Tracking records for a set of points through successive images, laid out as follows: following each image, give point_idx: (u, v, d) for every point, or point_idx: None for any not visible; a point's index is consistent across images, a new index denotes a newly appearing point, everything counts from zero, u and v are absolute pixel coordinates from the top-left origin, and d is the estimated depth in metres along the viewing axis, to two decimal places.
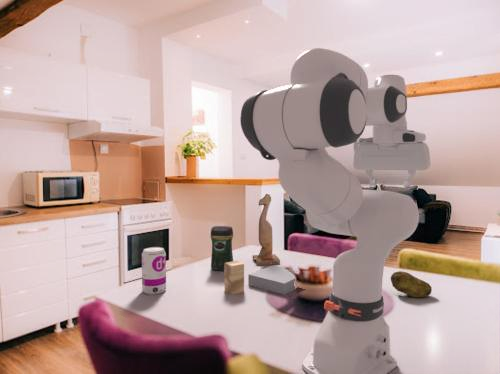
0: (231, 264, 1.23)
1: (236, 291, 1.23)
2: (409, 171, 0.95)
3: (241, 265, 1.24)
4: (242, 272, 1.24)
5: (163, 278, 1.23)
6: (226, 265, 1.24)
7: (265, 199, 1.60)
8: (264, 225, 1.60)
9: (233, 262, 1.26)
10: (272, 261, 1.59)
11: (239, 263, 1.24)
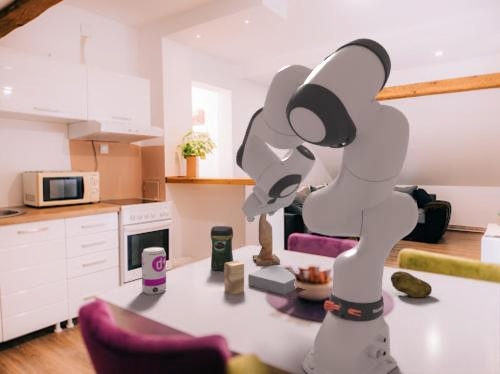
0: (231, 264, 1.23)
1: (236, 291, 1.23)
2: None
3: (241, 265, 1.24)
4: (242, 272, 1.24)
5: (163, 278, 1.23)
6: (226, 265, 1.24)
7: None
8: (264, 225, 1.60)
9: (233, 262, 1.26)
10: (272, 261, 1.59)
11: (239, 263, 1.25)
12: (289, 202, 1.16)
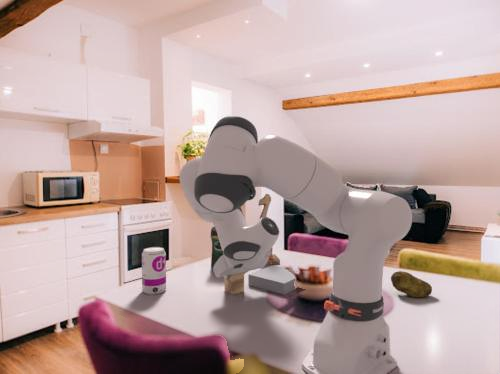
0: None
1: (236, 291, 1.23)
2: None
3: None
4: (242, 272, 1.24)
5: (163, 278, 1.23)
6: None
7: (264, 199, 1.60)
8: None
9: None
10: (272, 261, 1.59)
11: None
12: (261, 265, 1.25)
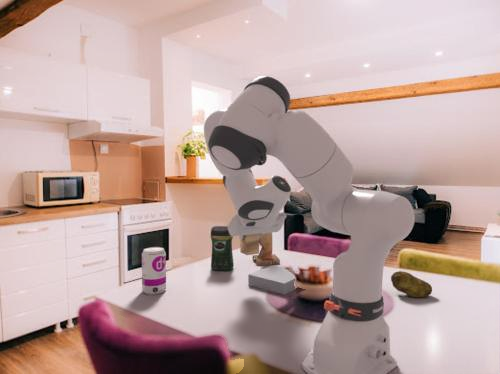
0: None
1: (251, 252, 1.25)
2: None
3: None
4: (257, 234, 1.26)
5: (163, 278, 1.23)
6: None
7: None
8: None
9: None
10: (272, 261, 1.59)
11: None
12: (277, 228, 1.26)
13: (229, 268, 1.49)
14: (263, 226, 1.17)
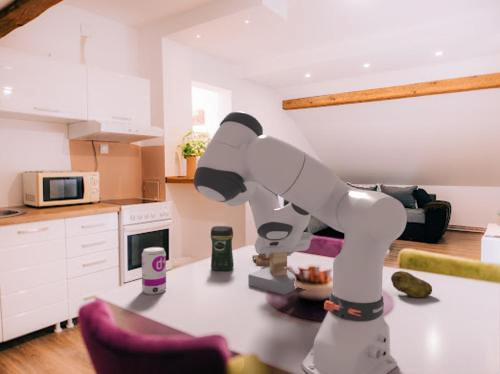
0: None
1: (278, 273, 1.30)
2: None
3: None
4: (285, 256, 1.30)
5: (163, 278, 1.23)
6: None
7: None
8: None
9: None
10: None
11: None
12: (304, 247, 1.28)
13: (229, 268, 1.49)
14: (287, 246, 1.20)
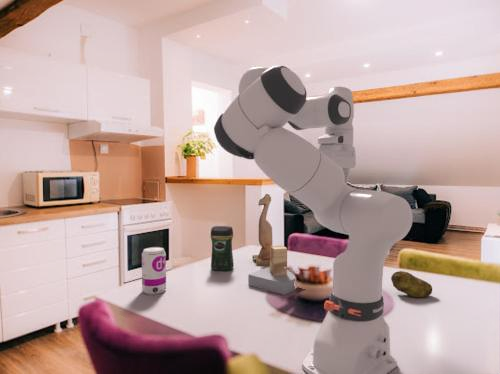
0: (275, 247, 1.31)
1: (278, 273, 1.30)
2: None
3: (284, 249, 1.30)
4: (285, 256, 1.30)
5: (163, 278, 1.23)
6: (271, 248, 1.32)
7: (264, 199, 1.60)
8: (264, 225, 1.60)
9: (278, 246, 1.33)
10: None
11: (283, 247, 1.31)
12: (353, 160, 1.19)
13: (229, 268, 1.49)
14: (349, 141, 1.10)
